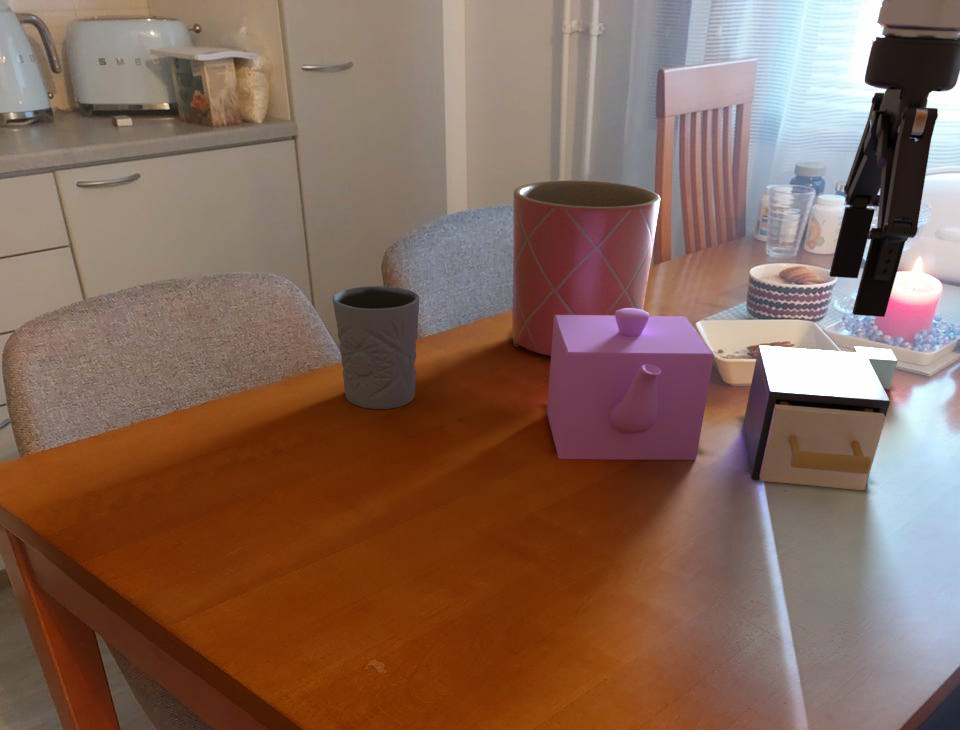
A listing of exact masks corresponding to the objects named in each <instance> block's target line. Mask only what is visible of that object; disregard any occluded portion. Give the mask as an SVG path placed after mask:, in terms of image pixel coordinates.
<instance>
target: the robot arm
mask: <svg viewBox="0 0 960 730" xmlns="http://www.w3.org/2000/svg"><path fill="white" fill-rule="evenodd" d="M876 24H877V25H878V27H879V28H882V33H881V35H876V36H875V39H872V41H871V45H870V51H869V54H868V58H867V63H866V67H865V71H864V76H863V83H864V84H865V85H866V86H868V87H870V88H875V89H882V90H885V91H884V92H875V93H874V95H873V96H872V98H871V106H870V111H869V113H868V117H867V120H866V124H865V127H864V130H863V133H862V136H861V138H860V141H859V144H858V148H857V149H856V153H855V156H854V160H853V162H852V165H851V167H850V171H849V175H848V176H847V180H846V183H845V185H844V187H843V193H844V195H845V199H844V200H845V205H846V206H845V207H844V211H843V215H842V220H841V224H840V227H839V232H838V236H837V241H836V245H835V250H834V254H833V258H832V263H831V266H830V271H829V277H830V278H845V279H858V278H859V274H860V271H861V266H862V262H863V259H864V256H865V255H864V254H865V250H866V247H867V243H868V240H870V242H869V245H868V250H867V254H866V257H865V260H864V266H863V270H862V274H861V277H860V281H859V286H858V289H857V293H856V297H855V300H854V305H853V308H852V314H853V315H854V316H868V317H880V318H885V316H886V313H887V309H888V305H889V301H890V298H891V295H892V291H893V287H894V284H895V281H896V276H897V273H898V269H899V267H900V261H901V259H902V255H903V251H904V248H905V244H906V242H908V239H910V238H911V239H913V238H915V236H916V235H917V233H918V229H919V228H918V226H919V219H920V212H921V206H922V200H923V194H924V188H925V181H926V176H927V175H926V174H927V169H928V161H929V155H930V148H931V143H932V137H933V133H934V129H935V125H936V122H937V120H938V117H939V113H938V108H937V107H927V105H928V97H929V96H930V94H931V93H932V92H939V93H940V92H949V91H951V90H952V89H954V88H955V87H956V85H957V83H958V80H959V75H960V0H882V1H881V5H880V9H879V13H878V18H877V21H876ZM870 207H871V208H870ZM872 207H874V208H872ZM875 208H878V212H877V224H876V227H872V223H873V220H874V219H873V218H874V215H875V212H876V209H875Z"/></svg>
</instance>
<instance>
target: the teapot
mask: <svg viewBox="0 0 960 730" xmlns="http://www.w3.org/2000/svg"><path fill="white" fill-rule="evenodd" d="M714 358H715V355H714V353H713V352H712V351H711V349H710V347H708V345H707V344H706V342H705V341H704V339H703V338H702V337H701V335H700V334H699V333H698V331H697V330H696V328H695V327H694V326H693V324H691V322H690V321H689V319H688V317H687V316H683V315H682V316H681V315H680V316H679V315H678V316H677V315H676V316H675V315H650V313H649V312H648V311H646V310H644V309H643V310H641V309H635V308H624V309H620V310H617V311H616V312H615V315H555V316H554V321H553V336H552V351H551V356H550V365H549V366H550V368H549V381H548V395H547V408H546V409H547V412H546V415H547V418H548V419H547V420H548V422H549V423H548V424H549V426H550V431H551V434H552V438H553V443H554V445H555V449H556V454H557V457H558V460H633V461H634V460H636V461H637V460H640V461H641V460H644V461H645V460H649V461H650V460H653V461H655V460H658V461H661V460H665V461H666V460H668V461H669V460H671V461H673V460H674V461H696V460H697V457H698V451H699V446H700V445H699V444H700V439H701V433H702V427H703V423H704V422H703V421H704V417H705V410H706V404H707V399H708V393H709V387H710V381H711V375H712V369H713V364H714Z"/></svg>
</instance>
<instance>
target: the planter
mask: <svg viewBox="0 0 960 730" xmlns="http://www.w3.org/2000/svg"><path fill="white" fill-rule="evenodd" d="M660 204H661V196H660V195H659V194H658V193H656V192H655V191H652V190H650V189H647V188H644V187H640V186H636V185H631V184H626V183H625V184H624V183H619V182H608V181H599V180H572V179H571V180H568V179H567V180H566V179H565V180H548V181H547V180H546V181H538V182H531V183H526V184H522V185H520V186H518V187H516V188H515V189H514V191H513V209H512V211H513V216H512V217H513V219H512V220H513V221H512V223H513V224H512V315H511V317H512V318H511V319H512V321H511V323H512V327H511V328H512V341H513V346H514V347H515V348H518V347H519V346H521V347H522V348H524V349H526V350H528V351H531V352H533V353H537V354H541V355H545V356H550V357H551V351H552V336H553V321H554V316H555V315H615V312H616V311H617V310H620V309H624V308H635V309H641V310H644V305H645V299H646V293H647V286H648V281H649V276H650V275H649V274H650V268H651V263H652V258H653V257H652V256H653V250H654V243H655V236H656V231H657V230H656V229H657V224H658V223H657V222H658V218H659V217H658V216H659V210H660Z"/></svg>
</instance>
